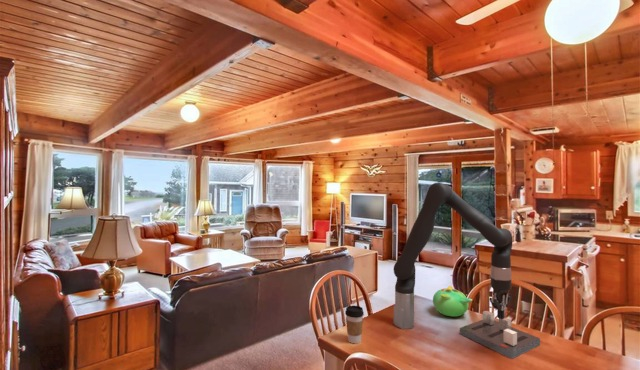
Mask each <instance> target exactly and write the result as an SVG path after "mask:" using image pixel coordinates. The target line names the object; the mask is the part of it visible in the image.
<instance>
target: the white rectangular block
mask: <svg viewBox="0 0 640 370" xmlns="http://www.w3.org/2000/svg"><path fill="white" fill-rule="evenodd" d="M503 342H505V343H507V344H510V345H512V346H514V345H516V344H517V332H515V331H512V330H510V329H505V330H504V341H503Z"/></svg>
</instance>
